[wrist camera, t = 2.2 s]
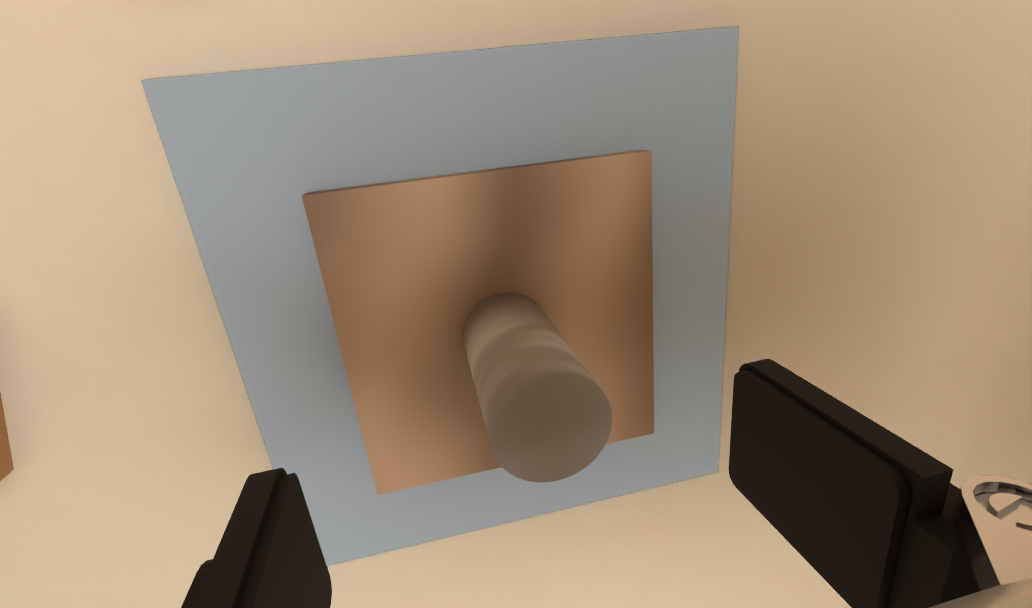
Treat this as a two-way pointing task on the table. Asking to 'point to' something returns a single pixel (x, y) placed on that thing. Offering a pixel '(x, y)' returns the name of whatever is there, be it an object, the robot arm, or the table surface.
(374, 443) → the lid
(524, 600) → the table surface
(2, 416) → the toy building blocks
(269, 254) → the mat
